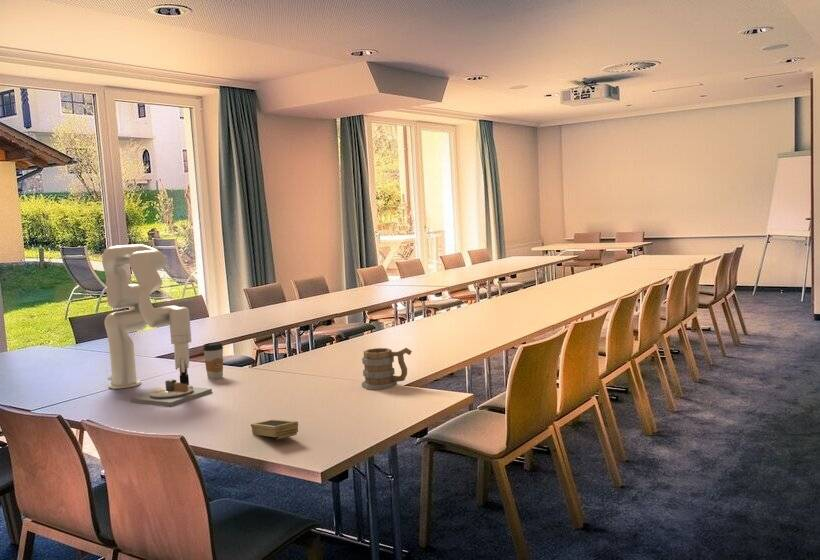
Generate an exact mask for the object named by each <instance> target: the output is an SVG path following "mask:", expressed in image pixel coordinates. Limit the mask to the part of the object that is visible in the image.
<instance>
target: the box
mask: <svg viewBox="0 0 820 560" xmlns="http://www.w3.org/2000/svg"><path fill="white" fill-rule="evenodd" d="M250 427H251V432H252V433H251V434H252V435H256V436H257V435H258V436H265V437H270V438H271V437H272V438H275V440H276V441H277V440H281V439H286V438H289V437H293V436H296V435H298V433H299V422H298V421H296V420H295V421H294V420H287V419H275V418H274V419H268V420H264V421H258V422H253V423H251V424H250Z"/></svg>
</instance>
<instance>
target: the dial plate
mask: <svg viewBox="0 0 820 560" xmlns="http://www.w3.org/2000/svg"><path fill="white" fill-rule="evenodd" d="M212 389H213V388H206V387H196V386H195V387H194V386H193V392H191V393H189V394H186V395H182V396H177V397H170V398H153V397H150V392H146V393H143V394H140V395H138V396H133V397H130V403H136V404H144V405H145V404H146V405H156V406H164V407H174V406H176V405H179V404H182V403H185V402H188V401H191V400H195V399H197V398H200V397H203V396H206V395H209V394H212V393H213V390H212Z"/></svg>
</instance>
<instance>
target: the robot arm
mask: <svg viewBox="0 0 820 560" xmlns="http://www.w3.org/2000/svg"><path fill="white" fill-rule="evenodd" d="M101 263H102V267H103V270H104V274H105V281H106V282H105V286H106V299H107V300H106V301H107V304H108V306H109V307H110V308H111V309H123V308H124V309H125V308H130V309H127V310H121V311H120V310H119V311H113V312H110V313H109V314H107V315H106V317H105V318H104V328H105V331H106V336H107V339H108V346H109V347H108V349H109V359H110V371H111V374H110V376H108V377H107V380H108V381H110V382H111V383H109V384H108V388H109V389H113V390H117V389H118V390H119V389H120V390H121V389H129V388H133V387H134V388H135V387H137V386H139V385H141V384H142V381H141V380H140V379H138V378H137V369H136V357H135V355H136V354H135V346H134V344H135V343H134V342H133V339H132V338H131V337H130V335H129V334H130V333H134V332H139V331H143V330H144V329H146V327H147V326H149V327H151V328H159V327H165V326H169V333H170V344H171V345H173V352H174V364H175V365H174V367H175V370H178V369H179V382H180V383H188V385H190V380H189V374H188V368H189V367H190V366H189V365H190V349H189V347H190V345H189V344H190V343H192V334H191V333H192V332H191V331H192V330H191V319H190V309H189V308H188V307H186V306H178V305H173V304H172V305H165V306H159V307H154V306H153V304H152V301H151V300H150V299H151V298H150V296H151V294H153V293H154V292H157V290H159V289H160V288H162V285H163V280H162V278H161V276H160V274H159V272H158V271H161V270H164V268H165V266H166V263H167V262H166V257H165V256H164V253H162V251H160V249H157V248H153V247H151V246H148V245H145V244H140V243H139V244H124V245H122V244H121V245H113V246H110V247H107V248H106V249H105V250H104V251H103V253H102V256H101ZM127 266H128V267H130V269H131V272H132V273H133V275H134V278H135V279H136V281H137V283H130V284H129V275H128V272H127V271H126V269H125V268H124V267H127Z"/></svg>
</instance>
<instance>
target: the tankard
mask: <svg viewBox="0 0 820 560" xmlns="http://www.w3.org/2000/svg"><path fill="white" fill-rule="evenodd" d="M412 352H413V351H412V350H411V349H409V348H407V347H405V348H403V349H401V350H398V351H392V349H390V348H387V347H375V348H369V349H366V350H363V357H362V359H361V360H362V361H361V362H362V364H363V365H364V369H363V370H362V376H363V377H364V380H363V382H361V387H362V388H364V389H366V390H371V391H372V390H373V391H381V390H382V391H383V390H388V389H393V388H395V386H397V385H398V382H403V381H406V378H407V376H408V367H407V365H406V362H405V358H404V355H405V354H407V355H409V356H410V355H411V354H412ZM395 357H397V362H398V365H399V368H400V370H401V374H400V375H395V374H396V373H395V372H396V371H395V367H393V363H394V362H395Z"/></svg>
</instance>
